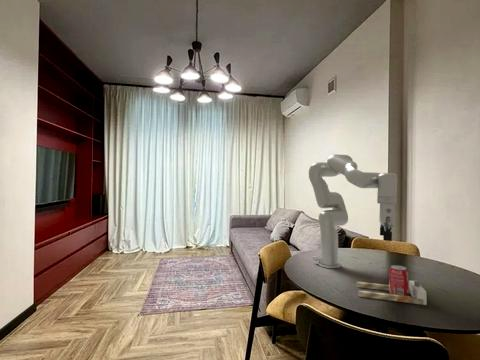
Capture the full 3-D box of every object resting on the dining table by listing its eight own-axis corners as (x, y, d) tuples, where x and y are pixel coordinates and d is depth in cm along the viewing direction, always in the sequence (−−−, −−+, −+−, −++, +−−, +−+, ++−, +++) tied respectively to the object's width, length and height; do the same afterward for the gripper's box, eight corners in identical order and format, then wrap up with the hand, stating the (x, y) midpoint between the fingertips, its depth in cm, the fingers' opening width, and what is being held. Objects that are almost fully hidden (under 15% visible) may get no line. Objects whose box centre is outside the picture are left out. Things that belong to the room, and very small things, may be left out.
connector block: (417, 303, 104) (417, 285, 104) (409, 291, 115) (408, 275, 115) (426, 304, 103) (426, 286, 103) (417, 292, 114) (416, 276, 114)
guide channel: (359, 296, 110) (358, 291, 110) (356, 285, 122) (356, 281, 122) (423, 304, 103) (423, 299, 103) (414, 292, 114) (414, 287, 114)
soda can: (401, 292, 115) (401, 264, 115) (412, 299, 108) (412, 269, 108) (385, 292, 114) (385, 264, 114) (396, 299, 107) (395, 270, 107)
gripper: (400, 202, 110) (399, 243, 111) (392, 199, 126) (391, 234, 127) (380, 202, 113) (379, 241, 113) (374, 198, 129) (373, 233, 129)
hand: (385, 237), depth 120 cm, fingers open, 9 cm apart
